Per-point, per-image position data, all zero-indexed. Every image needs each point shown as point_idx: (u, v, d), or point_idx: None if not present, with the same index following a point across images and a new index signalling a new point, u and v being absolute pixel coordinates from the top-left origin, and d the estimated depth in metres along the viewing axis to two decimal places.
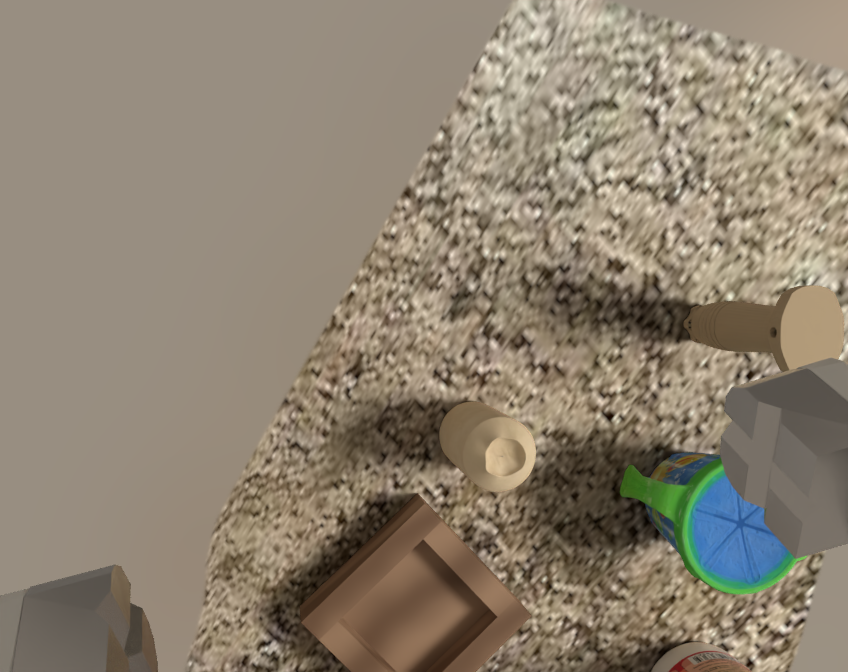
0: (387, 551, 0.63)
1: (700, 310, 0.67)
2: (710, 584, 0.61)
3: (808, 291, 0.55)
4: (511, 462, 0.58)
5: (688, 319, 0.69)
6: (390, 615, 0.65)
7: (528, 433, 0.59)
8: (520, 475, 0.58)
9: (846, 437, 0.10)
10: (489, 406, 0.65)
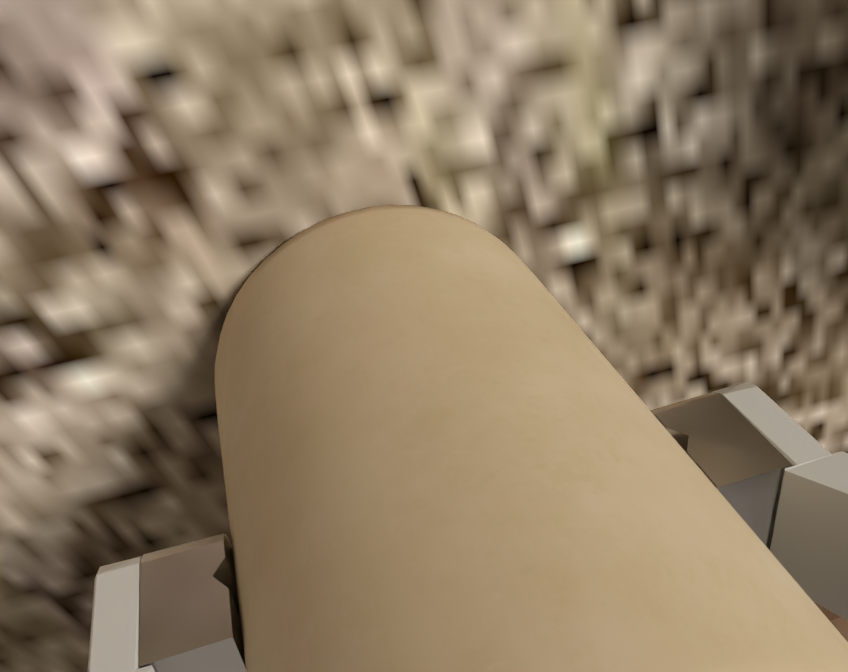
0: None
1: None
2: None
3: None
4: None
5: None
6: None
7: None
8: None
9: (749, 466, 0.09)
10: (298, 323, 0.10)
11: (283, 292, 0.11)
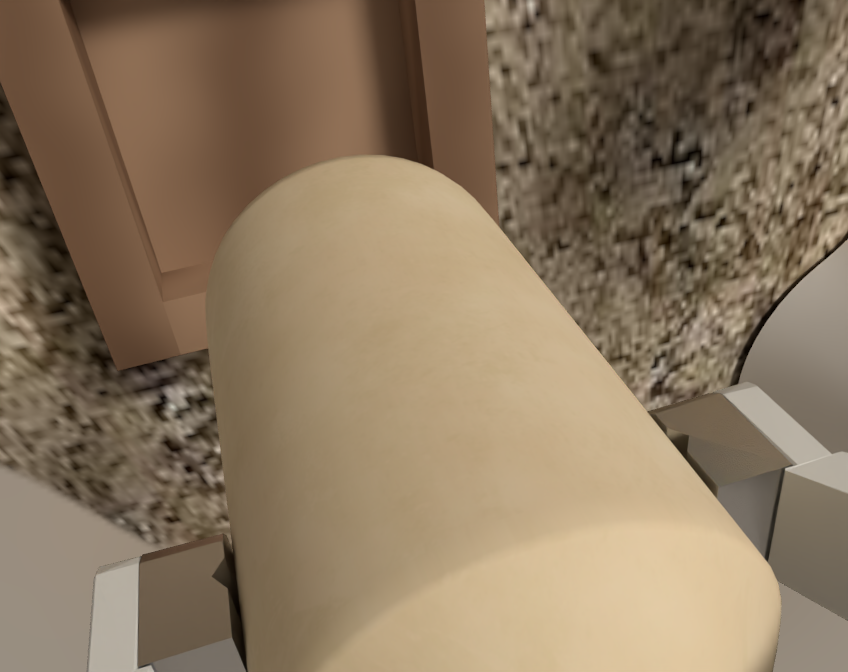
0: (40, 107, 0.21)
1: None
2: None
3: None
4: None
5: None
6: (246, 172, 0.26)
7: (572, 560, 0.07)
8: None
9: (750, 466, 0.09)
10: (276, 256, 0.11)
11: (263, 231, 0.12)
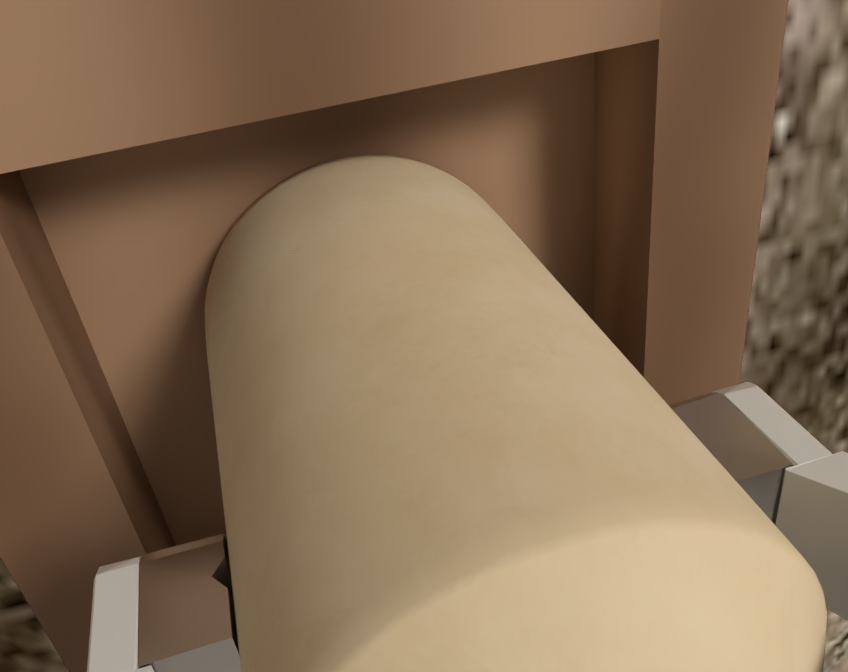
0: None
1: None
2: None
3: None
4: None
5: None
6: None
7: (598, 562, 0.06)
8: None
9: (750, 466, 0.09)
10: (276, 256, 0.11)
11: (263, 232, 0.12)
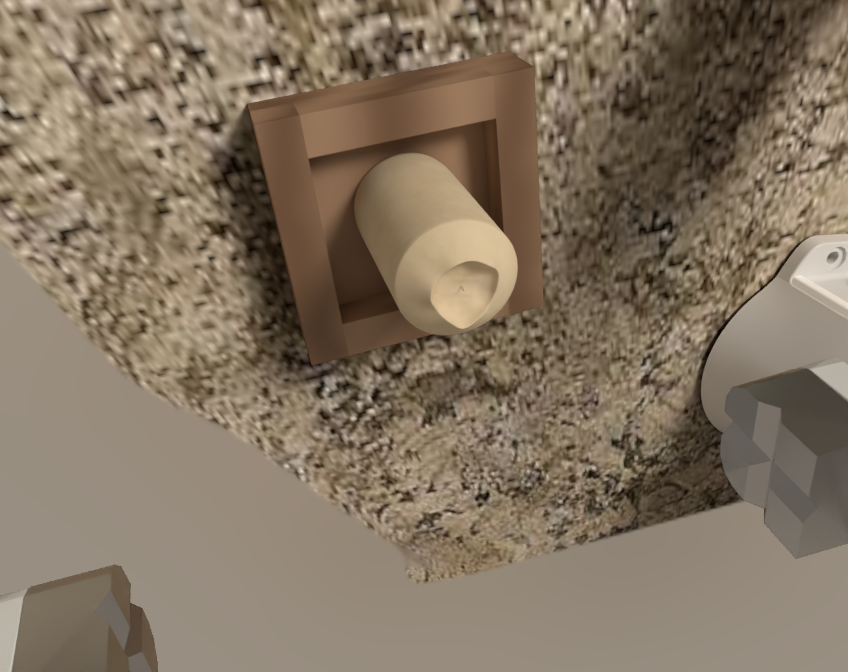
0: (292, 217, 0.38)
1: None
2: None
3: None
4: (479, 278, 0.34)
5: None
6: None
7: (458, 225, 0.33)
8: (506, 275, 0.34)
9: (846, 437, 0.10)
10: (384, 181, 0.38)
11: (378, 175, 0.39)
